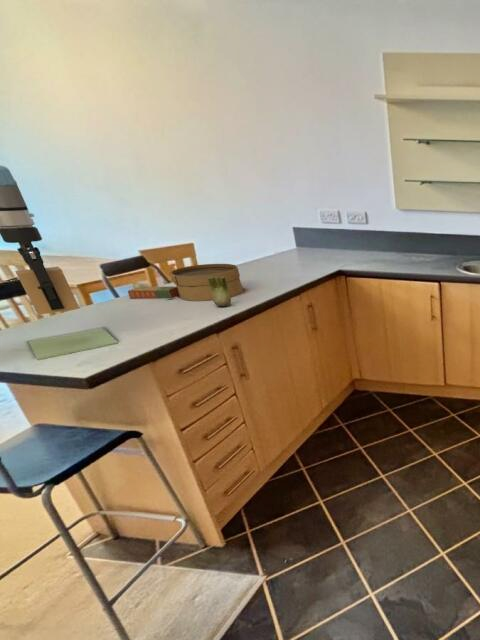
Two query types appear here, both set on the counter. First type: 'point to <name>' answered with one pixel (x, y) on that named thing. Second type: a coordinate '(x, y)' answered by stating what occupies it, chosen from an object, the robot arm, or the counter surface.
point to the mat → (71, 343)
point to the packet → (37, 295)
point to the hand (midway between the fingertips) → (56, 306)
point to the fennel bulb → (220, 292)
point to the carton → (153, 292)
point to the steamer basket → (205, 280)
